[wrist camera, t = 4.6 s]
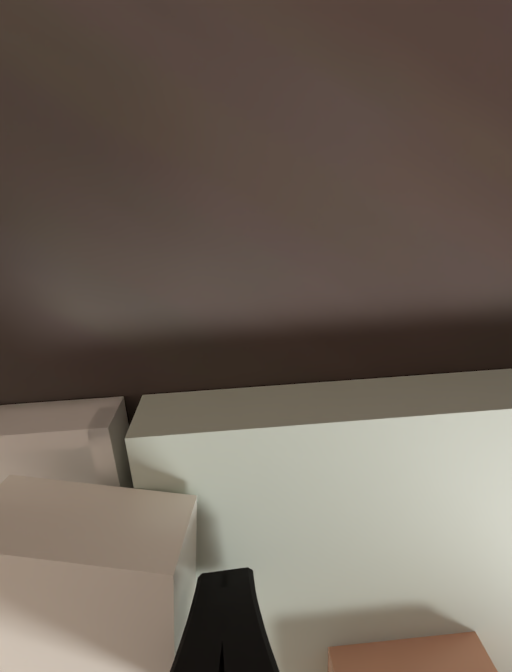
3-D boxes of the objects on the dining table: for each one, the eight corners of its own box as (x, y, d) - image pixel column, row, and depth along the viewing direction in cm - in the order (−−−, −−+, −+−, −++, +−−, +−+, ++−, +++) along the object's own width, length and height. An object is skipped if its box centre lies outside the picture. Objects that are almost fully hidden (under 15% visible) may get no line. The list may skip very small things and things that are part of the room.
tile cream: (197, 495, 9) (173, 575, 7) (195, 624, 11) (175, 716, 9) (9, 474, 9) (-61, 546, 7) (35, 603, 11) (-16, 689, 9)
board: (634, 359, 11) (715, 392, 9) (535, 671, 16) (575, 733, 14) (142, 394, 11) (124, 438, 9) (193, 709, 16) (188, 780, 14)
